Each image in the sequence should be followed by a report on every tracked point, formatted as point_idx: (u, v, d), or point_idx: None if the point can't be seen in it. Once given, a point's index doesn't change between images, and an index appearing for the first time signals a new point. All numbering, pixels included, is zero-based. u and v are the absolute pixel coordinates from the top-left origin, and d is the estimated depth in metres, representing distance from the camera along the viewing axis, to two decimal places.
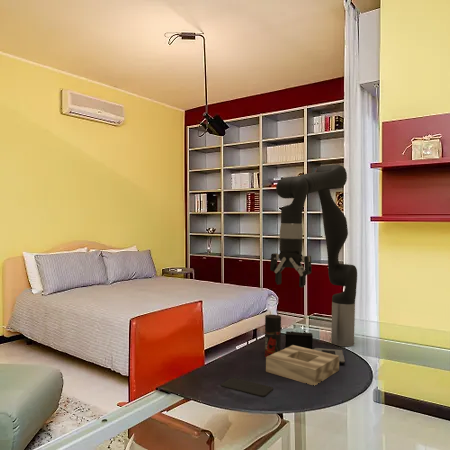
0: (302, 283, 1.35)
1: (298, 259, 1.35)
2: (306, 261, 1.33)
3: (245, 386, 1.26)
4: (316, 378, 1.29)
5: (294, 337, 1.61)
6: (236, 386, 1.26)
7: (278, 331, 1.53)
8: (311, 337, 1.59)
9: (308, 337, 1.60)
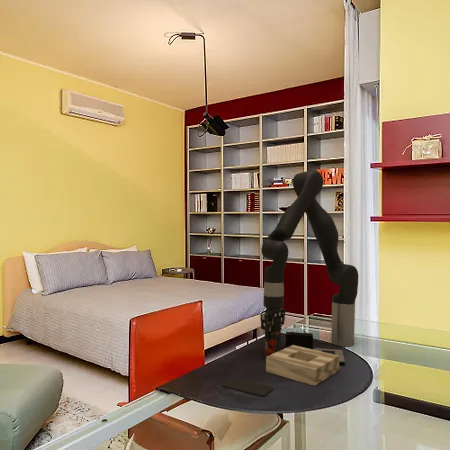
0: None
1: (280, 312, 1.57)
2: (284, 313, 1.59)
3: (245, 386, 1.26)
4: (316, 378, 1.29)
5: (294, 337, 1.60)
6: (236, 386, 1.26)
7: (278, 331, 1.53)
8: (311, 337, 1.59)
9: (308, 337, 1.59)
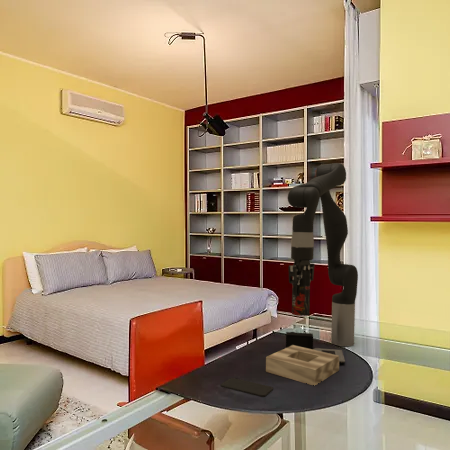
0: None
1: (309, 266, 1.43)
2: (313, 268, 1.46)
3: (245, 386, 1.26)
4: (316, 378, 1.29)
5: (294, 338, 1.60)
6: (236, 386, 1.26)
7: (307, 285, 1.39)
8: (312, 337, 1.59)
9: (309, 337, 1.59)
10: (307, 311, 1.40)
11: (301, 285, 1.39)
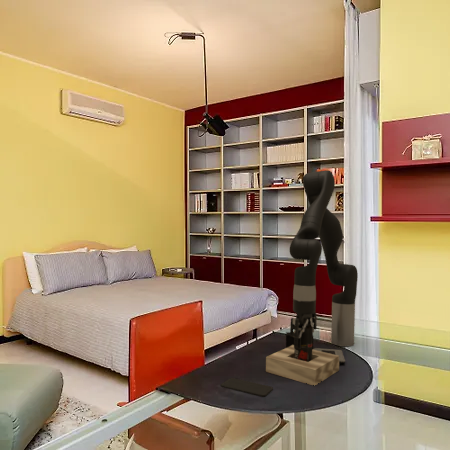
0: None
1: (311, 317, 1.43)
2: (315, 317, 1.45)
3: (245, 386, 1.26)
4: (316, 378, 1.29)
5: None
6: (236, 386, 1.26)
7: (310, 343, 1.39)
8: None
9: None
10: None
11: (303, 343, 1.38)
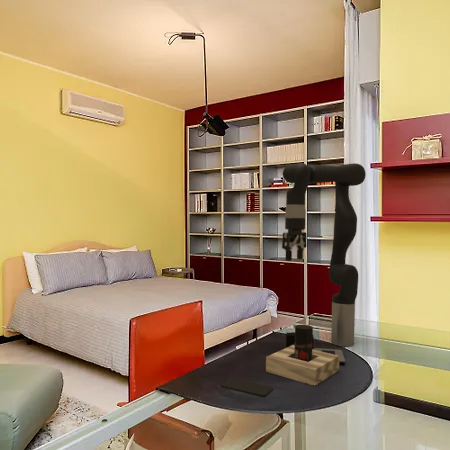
0: None
1: (301, 235, 1.59)
2: (305, 236, 1.61)
3: (245, 386, 1.26)
4: (316, 378, 1.29)
5: (294, 338, 1.60)
6: (236, 386, 1.26)
7: (310, 343, 1.39)
8: None
9: None
10: None
11: (304, 343, 1.38)
